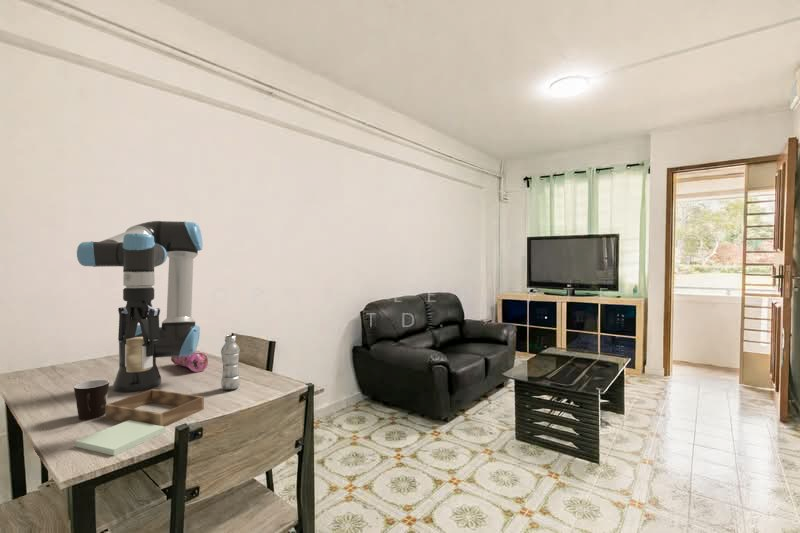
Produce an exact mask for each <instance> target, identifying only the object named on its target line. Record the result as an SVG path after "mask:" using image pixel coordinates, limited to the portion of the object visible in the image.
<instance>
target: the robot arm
mask: <svg viewBox="0 0 800 533" xmlns="http://www.w3.org/2000/svg"><path fill="white" fill-rule="evenodd" d="M202 250H203V237H202V232H201V228H200V226H199V225H198V224H197V223H196V222H193V221H192V222H191V221H185V220H184V221H173V220H172V221H169V220H168V221H164V220H163V221H162V220H154V221H153V220H152V221H147V222H143V223H139V224H135V225H133V226H130V227H128V228H127V229H126V230H125V231H124V232H122V233H119V234H117V235H114V236H112V237H109V238H107V239H103V240H101V241H94V240H93V241H83V242H81V243H79V244H78V246H77V249H76V258H77V261H78V263H79V264H80V265H81V266H83V267H93V268H96V267H122V268H123V276H122V277H123V279H122V280H123V286H124V288H123V289H122V300H123V301H124V302H126V304H125V306H123V307H118V308H117V310H118V315H119V316H118V317H119V319H118V334H117V335H118V339H117V340H118V353H119V354H118V362H119V363H118V364H119V367H118V371H117V373H116V377H115V379H114V382H113V391H115V392H119V393H130V392H131V393H132V392H139V391H144V390H145V391H146V390H150V389H153V388H156V387H157V386H159V385H160V384H161V383H162V376H161V373H160V370H159V368H158V365H157V359H158V358H170V357H176V356H180V357H181V356H188V355H192V354H193V353H194V352H197V351H196V350H197V348H198V345H199V341H200V336H201V335H200V334H201V332H200V330H201V329H200V326H199V325H197V324H196V320H195V319H194V318H192V308H193V275H194V259H195V258H196V257H197V256H198V253H199V252H198V251H202ZM167 258H168V271H167V272H168V276H167V277H168V278H167V298H166V299H167V300H166V302H167V303H166V318H165V319H164V320H163V321H162V322H161V326H160V313H161V308H159V307H158V308H155V307H153V305H152V301H153V300H154V299H155V288H154V287H153V286H155V268H156V267H159V266H162V265H163V264H164V263H166V260H167ZM134 337H143V340H144V344H143V345H142V369H146V368H149V367H151V369H149V370H146V371H142V372H126V339H129V338H134ZM148 340H149V341H148Z"/></svg>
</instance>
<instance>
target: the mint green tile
mask: <svg viewBox="0 0 800 533" xmlns="http://www.w3.org/2000/svg"><path fill="white" fill-rule="evenodd" d="M165 432H166V426H165V427H164V426H158V425H153V424H148V423H143V422H137V421H132V420H128V421H125V422H123V421H122V422H120V423H118V424H116V425H113V426H110V427H108V428H105V429H103V430H100V431H97V432H95V433H92V434H90V435H87V436H84V437H82V438H80V439H77V440H75V447H76V448H80V449H85V450H89V451H93V452H97V453H101V454H105V455H110V456H117V455H119V454H121V453H122V452H125V451H128V450H129V449H132V448H135V447H136V446H138V445H140V444H142V443H144V442H147V441H149V440H151V439H153V438H155V437H157V436H160V435H162V434H164V433H165Z"/></svg>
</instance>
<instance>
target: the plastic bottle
mask: <svg viewBox="0 0 800 533" xmlns="http://www.w3.org/2000/svg"><path fill="white" fill-rule="evenodd" d="M236 341H237V337H236V335H235V334H229V335H225V337H224V344H223V346H222V347H221V348H220V354H221V360H222V362H221V363H222V373H221V374H222V375H221V379H220V380H221V382H220V384H221V385H220V386H221V388H222V389H223V390H226V391H227V390H228V391H229V390H230V391H231V390H235V389H238V388H239V387H240V385H241V384H240V383H241V377H240V374H239V371H240V370H239V358H240V351H241V350H240V346H239V345H238V343H236Z"/></svg>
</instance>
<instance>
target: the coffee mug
mask: <svg viewBox="0 0 800 533" xmlns="http://www.w3.org/2000/svg"><path fill="white" fill-rule="evenodd" d="M109 386H110V380H108V379H93V380H89V381H88V380H87V381H83V382H79V383H76V384H75V385H74V386H73V391H74V396H75V404H76V410H77V411H76V412H77V415H78V416H77V417H78V420H79V421H91V420H96V419H99V418H102V417H104V416H105V405H107V404H108V403H107V402H108V396H109Z"/></svg>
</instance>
